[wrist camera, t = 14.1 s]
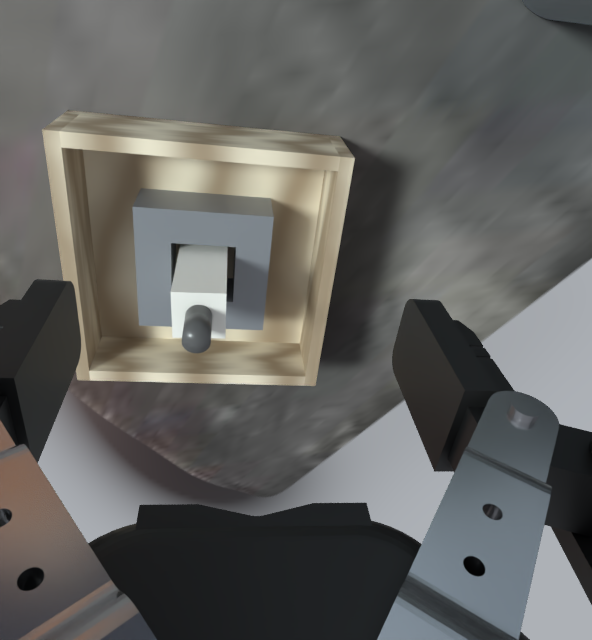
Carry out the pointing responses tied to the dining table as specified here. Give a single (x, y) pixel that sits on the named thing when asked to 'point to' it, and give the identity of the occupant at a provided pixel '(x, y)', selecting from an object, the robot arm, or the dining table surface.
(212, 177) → the walled box
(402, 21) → the dining table surface
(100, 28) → the dining table surface
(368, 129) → the dining table surface
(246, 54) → the dining table surface
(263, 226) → the block
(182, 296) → the plug
